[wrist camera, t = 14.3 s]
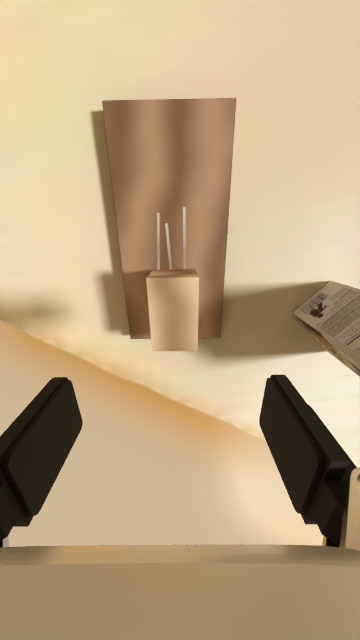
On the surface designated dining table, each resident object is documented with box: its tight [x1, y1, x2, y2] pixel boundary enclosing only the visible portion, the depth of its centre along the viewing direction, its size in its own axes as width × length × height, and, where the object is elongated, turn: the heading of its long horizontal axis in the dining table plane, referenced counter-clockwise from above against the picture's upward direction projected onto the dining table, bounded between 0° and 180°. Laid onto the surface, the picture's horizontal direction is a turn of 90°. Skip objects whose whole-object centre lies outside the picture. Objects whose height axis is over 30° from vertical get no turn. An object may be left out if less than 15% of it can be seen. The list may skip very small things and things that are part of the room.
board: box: [102, 98, 236, 339], centre depth 24 cm, size 12×24×2 cm, turn 1°
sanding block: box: [146, 269, 199, 351], centre depth 23 cm, size 5×8×5 cm, turn 1°
